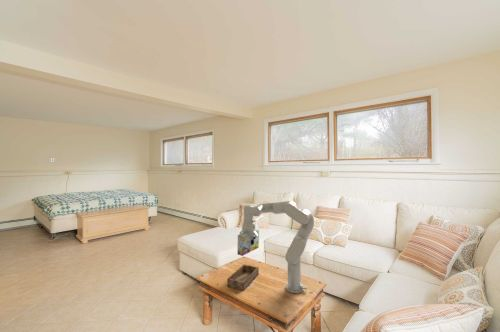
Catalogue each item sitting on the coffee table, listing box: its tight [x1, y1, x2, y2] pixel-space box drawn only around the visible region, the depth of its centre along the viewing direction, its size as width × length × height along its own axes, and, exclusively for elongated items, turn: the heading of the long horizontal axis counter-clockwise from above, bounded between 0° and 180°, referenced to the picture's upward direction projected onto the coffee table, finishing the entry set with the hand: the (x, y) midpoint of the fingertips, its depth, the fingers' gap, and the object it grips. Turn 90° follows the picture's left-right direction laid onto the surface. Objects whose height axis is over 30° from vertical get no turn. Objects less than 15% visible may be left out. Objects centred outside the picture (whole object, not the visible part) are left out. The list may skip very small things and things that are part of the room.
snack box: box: [237, 228, 260, 257], centre depth 183 cm, size 21×6×15 cm, turn 143°
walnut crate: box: [227, 264, 260, 292], centre depth 186 cm, size 14×27×6 cm, turn 154°
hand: (248, 243), depth 184 cm, fingers closed on snack box, 6 cm apart
